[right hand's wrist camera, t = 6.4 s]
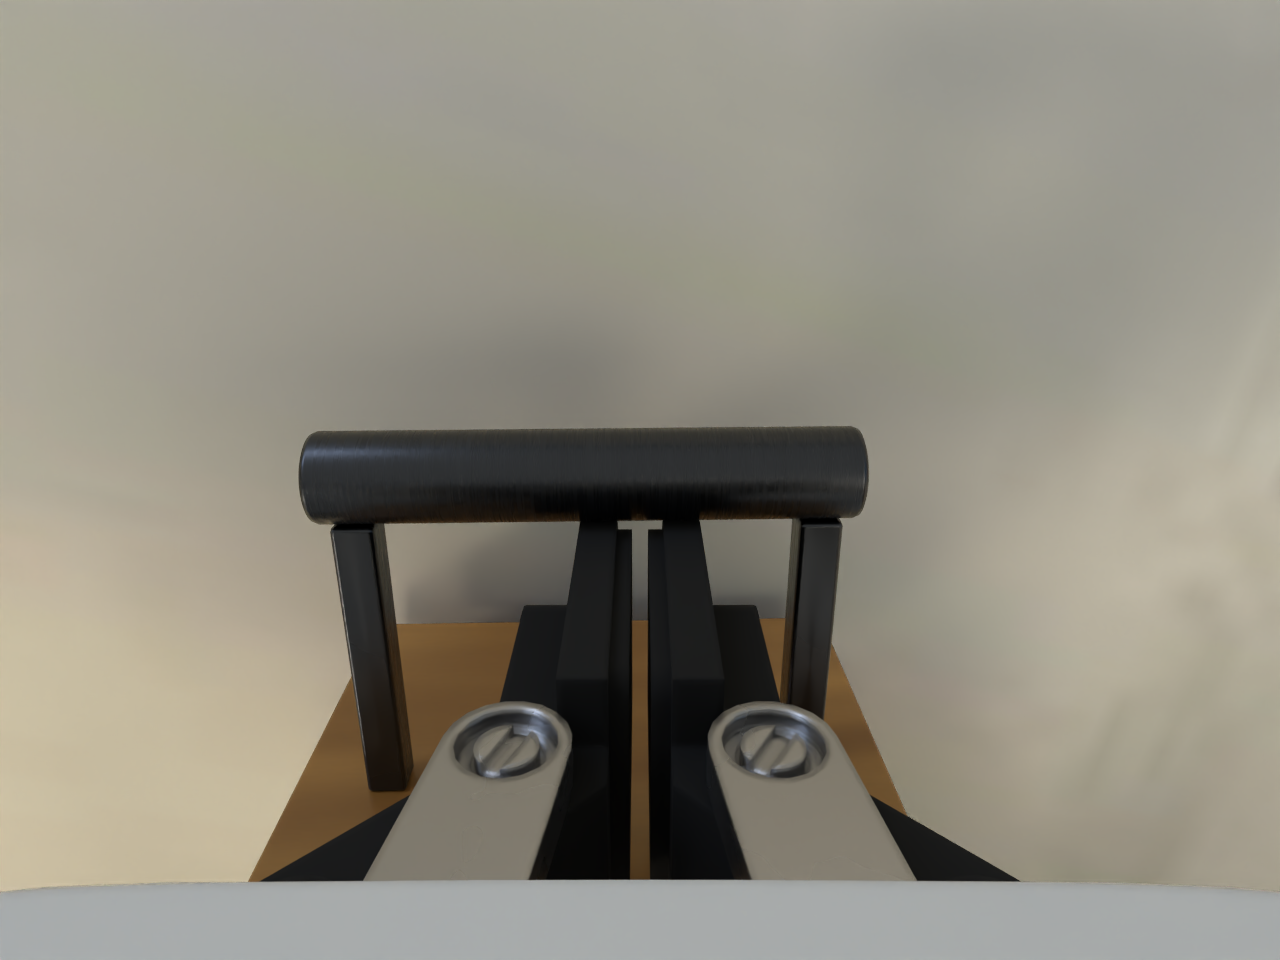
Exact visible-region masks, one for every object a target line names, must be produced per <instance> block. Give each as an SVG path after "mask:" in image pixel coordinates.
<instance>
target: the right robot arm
mask: <svg viewBox="0 0 1280 960" xmlns="http://www.w3.org/2000/svg"><path fill="white" fill-rule="evenodd" d="M648 772H649V846H650V880H630V848H631V774H632V529H618V521H580V527H579V533H578V540H577V546H576V552H575V559H574V565H573V571H572V578H571V584H570V591H569V597H568V603H567V605H526V606H524V608H523V611H522V615H521V619H520V623H519V627H518V631H517V635H516V639H515V643H514V647H513V651H512V655H511V659H510V663H509V667H508V671H507V675H506V679H505V683H504V687H503V691H502V695H501V699H500V703H495V704H490V705H485V706H483V707H480V708H478V709H476V710H473V711H471V712H468V713H467V714H465V715H464V716H462V717H461V718H460V719H458V720H457V721H455V722H454V723H453V724H452V725H451V726H450V728H449V729H448V730H447V731H446V733H445V734H444V735H443V737H442V738H441V740H440V742H439V744H438V746H437V747H436V749H435V751H434V753H433V755H432V757H431V758H430V760H429V762H428V764H427V766H426V767H425V769H424V771H423V773H422V775H421V777H420V778H419V780H418V782H417V784H416V786H415V787H414V789H413V791H412V793H411V794H410V795H409V796H407V797H405V798H403V799H402V800H400V801H398V802H396V803H395V804H393V805H391V806H389V807H388V808H386V809H384V810H382V811H381V812H379V813H377V814H376V815H374V816H372V817H370V818H369V819H367V820H365V821H363V822H362V823H360V824H358V825H356V826H355V827H353V828H351V829H349V830H348V831H346V832H344V833H343V834H341V835H339V836H337V837H336V838H334V839H332V840H330V841H329V842H327V843H325V844H323V845H322V846H320V847H318V848H316V849H315V850H313V851H311V852H310V853H308V854H306V855H304V856H303V857H301V858H299V859H297V860H296V861H294V862H292V863H290V864H289V865H287V866H285V867H283V868H282V869H280V870H278V871H277V872H275V873H273V874H271V875H270V876H268V877H266V878H264V879H263V880H261V881H259V882H166V883H139V884H111V885H84V886H57V887H42V888H32V889H22V890H13V891H3V892H0V960H1280V892H1277V891H1267V890H1257V889H1248V888H1238V887H1223V886H1196V885H1169V884H1141V883H1114V882H1021V881H1019V880H1017V879H1016V878H1014V877H1012V876H1010V875H1009V874H1007V873H1005V872H1004V871H1002V870H1000V869H998V868H997V867H995V866H993V865H991V864H990V863H988V862H986V861H984V860H983V859H981V858H979V857H977V856H976V855H974V854H972V853H970V852H969V851H967V850H965V849H964V848H962V847H960V846H958V845H957V844H955V843H953V842H951V841H950V840H948V839H946V838H944V837H943V836H941V835H939V834H937V833H936V832H934V831H932V830H931V829H929V828H927V827H925V826H924V825H922V824H920V823H918V822H917V821H915V820H913V819H911V818H910V817H908V816H906V815H904V814H903V813H901V812H899V811H898V810H896V809H894V808H892V807H891V806H889V805H887V804H885V803H884V802H882V801H880V800H878V799H877V798H875V797H873V796H871V795H870V794H869V793H868V791H867V789H866V787H865V786H864V784H863V782H862V780H861V778H860V777H859V775H858V773H857V771H856V769H855V767H854V766H853V764H852V762H851V760H850V758H849V757H848V755H847V753H846V751H845V749H844V747H843V746H842V744H841V742H840V740H839V738H838V737H837V735H836V734H835V733H834V731H833V730H832V729H831V728H830V726H829V725H828V724H827V723H826V722H825V721H823V720H822V719H820V718H819V717H818V716H816V715H815V714H813V713H812V712H809V711H807V710H804V709H802V708H800V707H797V706H795V705H790V704H785V703H780V699H779V695H778V691H777V687H776V683H775V679H774V675H773V671H772V667H771V663H770V659H769V655H768V651H767V647H766V643H765V639H764V635H763V631H762V627H761V623H760V619H759V615H758V611H757V608H756V606H755V605H713V603H712V597H711V590H710V584H709V578H708V571H707V565H706V559H705V552H704V546H703V539H702V533H701V527H700V521H699V520H663V522H662V529H648Z"/></svg>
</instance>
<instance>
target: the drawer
mask: <svg viewBox="0 0 1280 960" xmlns="http://www.w3.org/2000/svg"><path fill="white" fill-rule="evenodd" d="M868 482H869V464H868V455H867V449H866V445H865V442H864V438H863V436H862V434H861V432H860V431H859V430H858V429H857V428H854V427H852V426H815V427H709V428H602V429H495V430H389V431H318V432H315V433H313V434H311V435H309V436H308V438H307V439H306V441H305V443H304V445H303V448H302V452H301V457H300V463H299V490H300V497H301V501H302V505H303V508H304V511H305V513H306V515H307V517H308V518H309V519H310V520H311V521H312V522H315V523H317V524H334V526H333V527H332V528H331V531H330V534H331V540H332V547H333V554H334V560H335V567H336V574H337V580H338V587H339V594H340V601H341V607H342V614H343V621H344V627H345V634H346V641H347V647H348V654H349V661H350V668H351V674H352V676H351V678H350V680H349V682H348V684H347V686H346V688H345V690H344V692H343V694H342V696H341V698H340V700H339V702H338V704H337V706H336V708H335V710H334V712H333V714H332V716H331V718H330V720H329V722H328V724H327V726H326V728H325V730H324V732H323V734H322V736H321V738H320V740H319V742H318V744H317V746H316V748H315V750H314V752H313V754H312V756H311V758H310V760H309V762H308V764H307V766H306V768H305V770H304V772H303V774H302V776H301V778H300V780H299V782H298V783H297V785H296V787H295V789H294V791H293V793H292V795H291V797H290V799H289V801H288V803H287V805H286V807H285V809H284V811H283V813H282V815H281V817H280V819H279V821H278V823H277V825H276V827H275V829H274V831H273V833H272V835H271V837H270V839H269V841H268V843H267V845H266V847H265V849H264V851H263V853H262V855H261V857H260V859H259V861H258V863H257V865H256V867H255V869H254V871H253V873H252V875H251V877H250V879H249V881H248V882H259V881H261V880H263V879H264V878H266V877H268V876H270V875H271V874H273V873H275V872H277V871H278V870H280V869H282V868H283V867H285V866H287V865H289V864H290V863H292V862H294V861H296V860H297V859H299V858H301V857H303V856H304V855H306V854H308V853H310V852H311V851H313V850H315V849H316V848H318V847H320V846H322V845H323V844H325V843H327V842H329V841H330V840H332V839H334V838H336V837H337V836H339V835H341V834H343V833H344V832H346V831H348V830H349V829H351V828H353V827H355V826H356V825H358V824H360V823H362V822H363V821H365V820H367V819H369V818H370V817H372V816H374V815H376V814H377V813H379V812H381V811H382V810H384V809H386V808H388V807H389V806H391V805H393V804H395V803H396V802H398V801H400V800H402V799H403V798H405V797H407V796H409V795H410V794H411V793H412V791H413V789H414V787H415V786H416V784H417V782H418V780H419V778H420V777H421V775H422V773H423V771H424V769H425V767H426V766H427V764H428V762H429V760H430V758H431V757H432V755H433V753H434V751H435V749H436V747H437V746H438V744H439V742H440V740H441V738H442V737H443V735H444V734H445V733H446V731H447V730H448V729H449V728H450V726H451V725H452V724H453V723H454V722H455V721H457V720H458V719H460V718H461V717H462V716H464V715H465V714H467V713H468V712H471V711H473V710H476V709H478V708H480V707H483V706H485V705H490V704H495V703H500V699H501V695H502V691H503V687H504V683H505V679H506V675H507V671H508V667H509V663H510V659H511V655H512V651H513V647H514V643H515V639H516V635H517V631H518V627H519V623H520V622H503V623H436V624H396V617H395V609H394V601H393V593H392V584H391V576H390V568H389V560H388V552H387V544H386V536H385V528H384V524H396V523H479V522H562V521H644V520H727V519H792V532H791V546H790V560H789V574H788V588H787V602H786V617H785V618H770V619H760V623H761V627H762V631H763V635H764V639H765V643H766V647H767V651H768V655H769V659H770V663H771V667H772V671H773V675H774V679H775V683H776V687H777V691H778V695H779V699H780V703H785V704H790V705H795V706H797V707H800V708H802V709H804V710H807V711H809V712H812V713H813V714H815V715H816V716H818V717H819V718H820V719H822V720H823V721H825V722H826V723H827V724H828V725H829V726H830V728H831V729H832V730H833V731H834V733H835V734H836V735H837V737H838V738H839V740H840V742H841V744H842V746H843V747H844V749H845V751H846V753H847V755H848V757H849V758H850V760H851V762H852V764H853V766H854V767H855V769H856V771H857V773H858V775H859V777H860V778H861V780H862V782H863V784H864V786H865V787H866V789H867V791H868V793H869V794H870V795H871V796H873V797H875V798H877V799H878V800H880V801H882V802H884V803H885V804H887V805H889V806H891V807H892V808H894V809H896V810H898V811H899V812H901V813H903V814H904V815H906V816H907V814H906V812H905V809H904V807H903V805H902V803H901V800H900V798H899V796H898V793H897V791H896V789H895V787H894V784H893V782H892V780H891V778H890V775H889V773H888V771H887V768H886V766H885V764H884V762H883V759H882V757H881V755H880V752H879V750H878V748H877V746H876V743H875V741H874V739H873V737H872V734H871V732H870V730H869V727H868V725H867V723H866V721H865V718H864V716H863V714H862V711H861V709H860V707H859V705H858V702H857V700H856V698H855V696H854V693H853V691H852V689H851V686H850V684H849V682H848V680H847V677H846V675H845V673H844V670H843V668H842V666H841V664H840V661H839V659H838V657H837V655H836V652H835V650H834V648H833V645H832V643H831V642H832V632H833V621H834V611H835V600H836V590H837V579H838V569H839V558H840V547H841V537H842V523H841V521H840V519H839V518H853V517H855V516H858V515H859V514H860V513H861V512H862V510H863V507H864V504H865V501H866V497H867V491H868ZM630 880H650V846H649V772H648V620H636V621H632V774H631V848H630Z"/></svg>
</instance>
